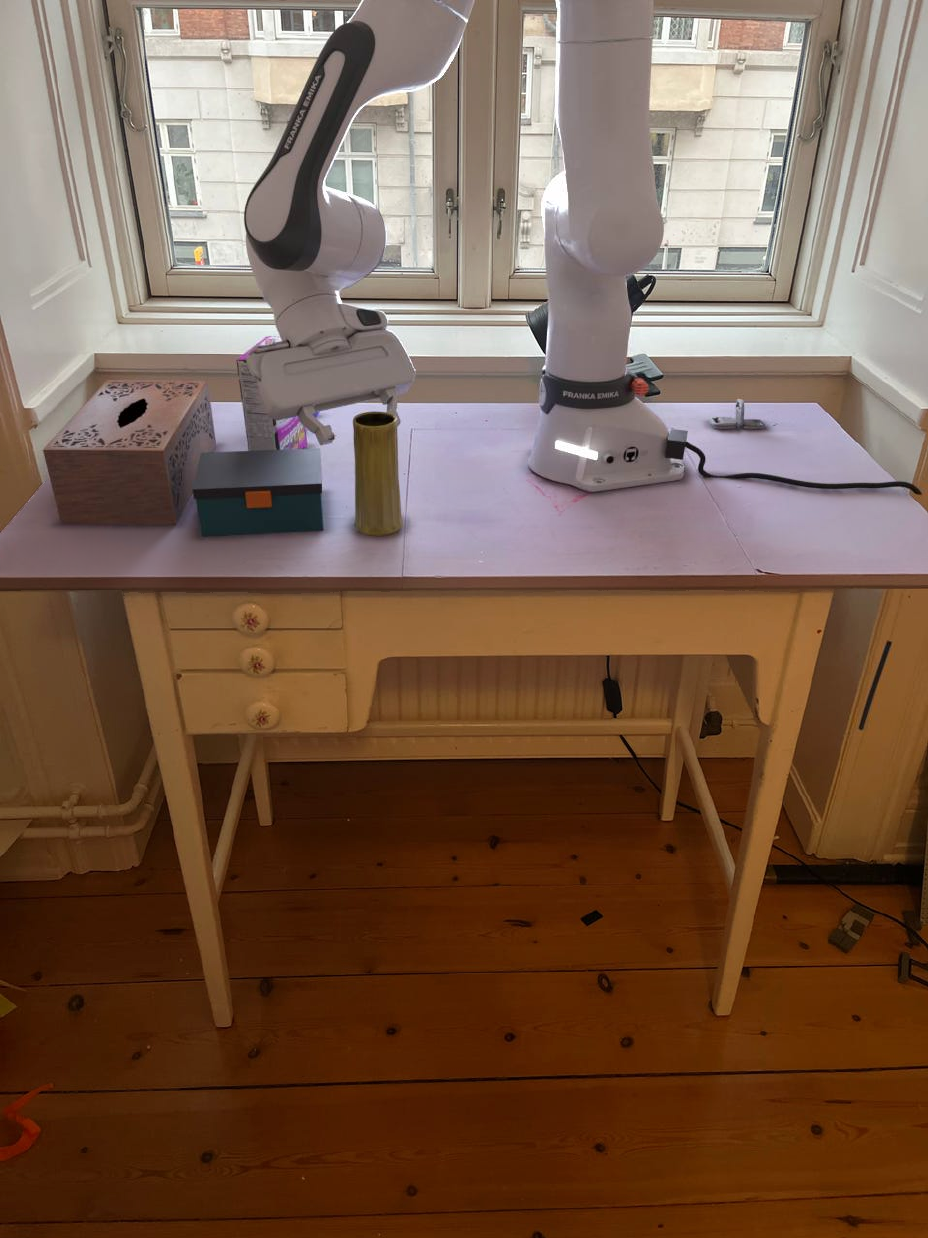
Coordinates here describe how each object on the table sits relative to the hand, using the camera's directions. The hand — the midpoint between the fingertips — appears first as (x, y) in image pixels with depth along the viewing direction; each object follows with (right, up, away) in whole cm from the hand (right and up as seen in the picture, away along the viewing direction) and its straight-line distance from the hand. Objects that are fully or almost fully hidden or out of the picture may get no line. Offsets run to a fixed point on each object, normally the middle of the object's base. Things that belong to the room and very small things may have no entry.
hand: (361, 434), depth 114 cm
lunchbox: (-13, -9, +6) cm, 17 cm away
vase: (+2, -11, +4) cm, 12 cm away
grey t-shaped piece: (+57, +8, +36) cm, 68 cm away
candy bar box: (-14, +1, +21) cm, 26 cm away
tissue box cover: (-31, -4, +14) cm, 35 cm away
